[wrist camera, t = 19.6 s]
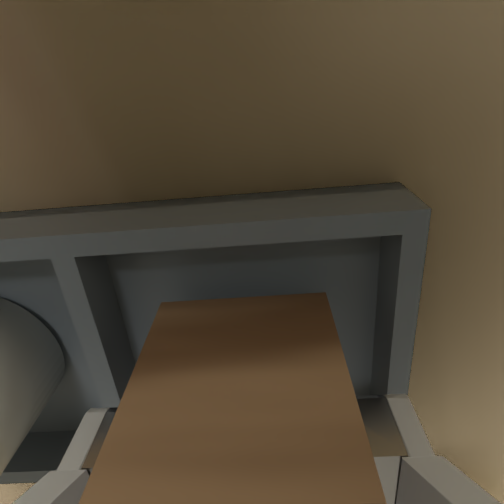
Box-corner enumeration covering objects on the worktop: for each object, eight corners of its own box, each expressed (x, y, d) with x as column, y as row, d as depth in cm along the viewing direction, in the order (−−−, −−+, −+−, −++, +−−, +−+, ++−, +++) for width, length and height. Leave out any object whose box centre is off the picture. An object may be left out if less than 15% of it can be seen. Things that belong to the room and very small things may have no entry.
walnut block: (161, 302, 11) (74, 513, 6) (326, 292, 10) (385, 502, 5) (186, 417, 13) (139, 647, 8) (325, 411, 12) (369, 644, 7)
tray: (-194, 227, 12) (-286, 260, 10) (399, 182, 11) (431, 209, 9) (-62, 434, 16) (-108, 488, 14) (379, 415, 15) (397, 468, 13)
